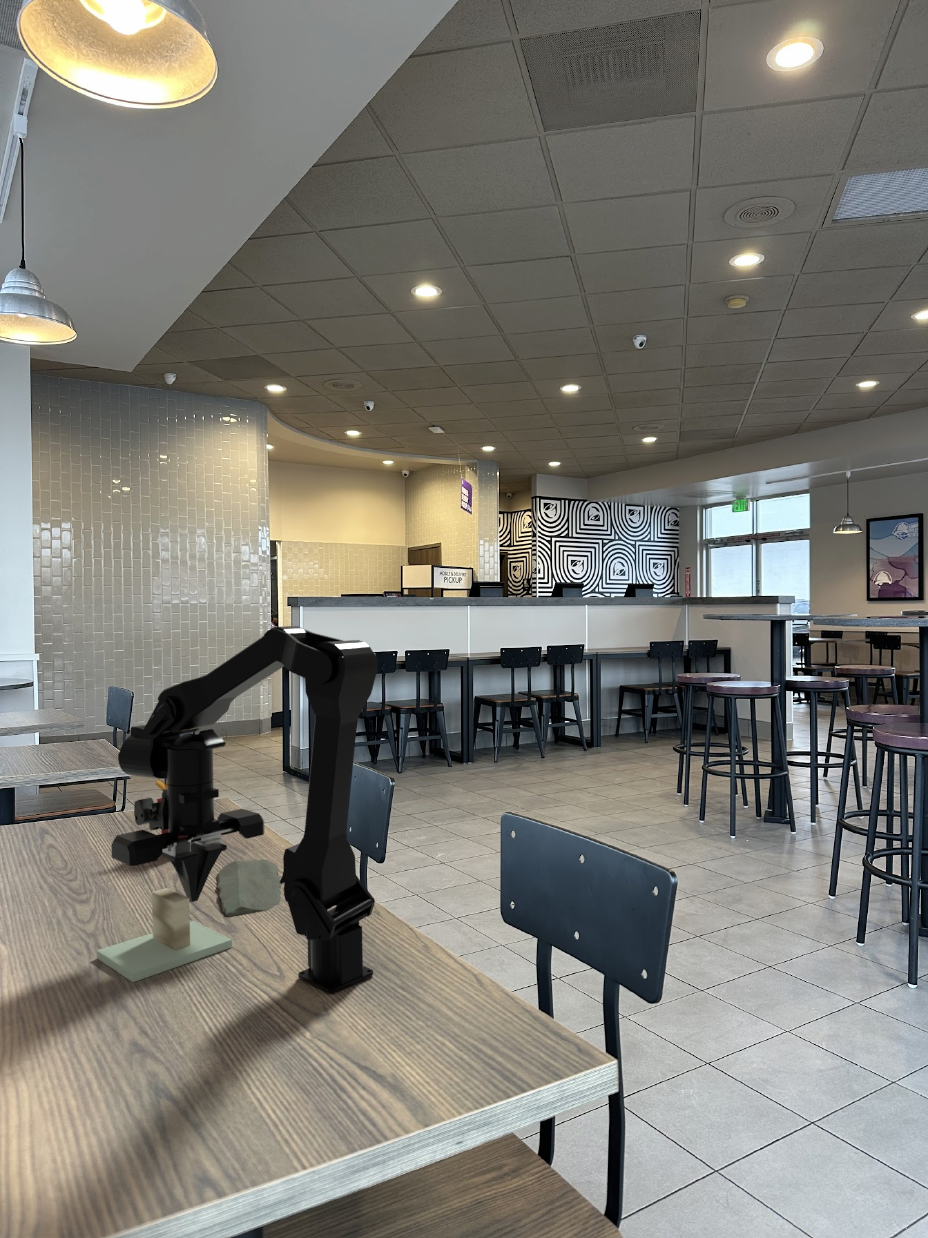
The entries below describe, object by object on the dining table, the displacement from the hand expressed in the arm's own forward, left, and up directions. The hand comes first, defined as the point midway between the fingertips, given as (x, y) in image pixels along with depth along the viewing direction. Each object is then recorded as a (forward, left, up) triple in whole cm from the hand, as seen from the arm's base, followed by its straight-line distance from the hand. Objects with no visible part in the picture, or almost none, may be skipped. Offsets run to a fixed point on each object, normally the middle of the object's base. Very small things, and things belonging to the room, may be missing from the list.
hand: (192, 901), depth 106 cm
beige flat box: (0, +3, -4) cm, 5 cm away
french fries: (+40, -21, -6) cm, 46 cm away
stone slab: (+13, -17, -6) cm, 22 cm away
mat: (0, +4, -6) cm, 7 cm away
